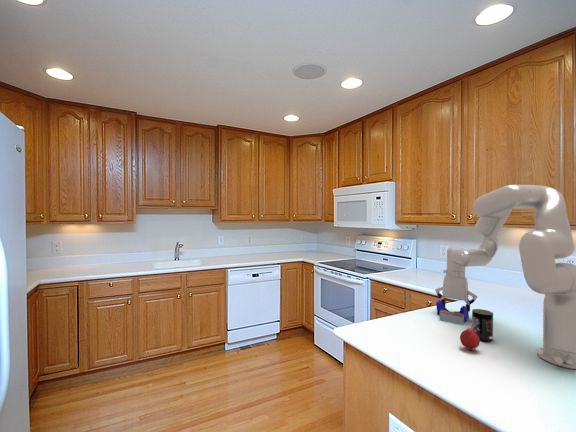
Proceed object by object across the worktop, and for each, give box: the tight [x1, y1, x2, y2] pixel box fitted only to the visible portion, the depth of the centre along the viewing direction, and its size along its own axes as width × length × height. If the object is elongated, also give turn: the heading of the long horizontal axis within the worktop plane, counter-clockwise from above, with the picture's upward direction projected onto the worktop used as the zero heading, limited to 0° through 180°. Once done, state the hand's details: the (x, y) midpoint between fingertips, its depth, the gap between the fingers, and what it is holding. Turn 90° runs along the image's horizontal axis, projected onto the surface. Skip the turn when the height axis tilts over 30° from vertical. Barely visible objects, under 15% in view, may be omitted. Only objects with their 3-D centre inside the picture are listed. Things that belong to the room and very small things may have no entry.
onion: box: [459, 326, 481, 351], centre depth 100 cm, size 6×6×8 cm
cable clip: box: [435, 299, 470, 323], centre depth 133 cm, size 12×4×6 cm, turn 38°
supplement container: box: [471, 308, 494, 343], centre depth 109 cm, size 7×7×10 cm
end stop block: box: [439, 310, 465, 326], centre depth 127 cm, size 3×9×4 cm, turn 49°
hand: (455, 310), depth 134 cm, fingers open, 9 cm apart
